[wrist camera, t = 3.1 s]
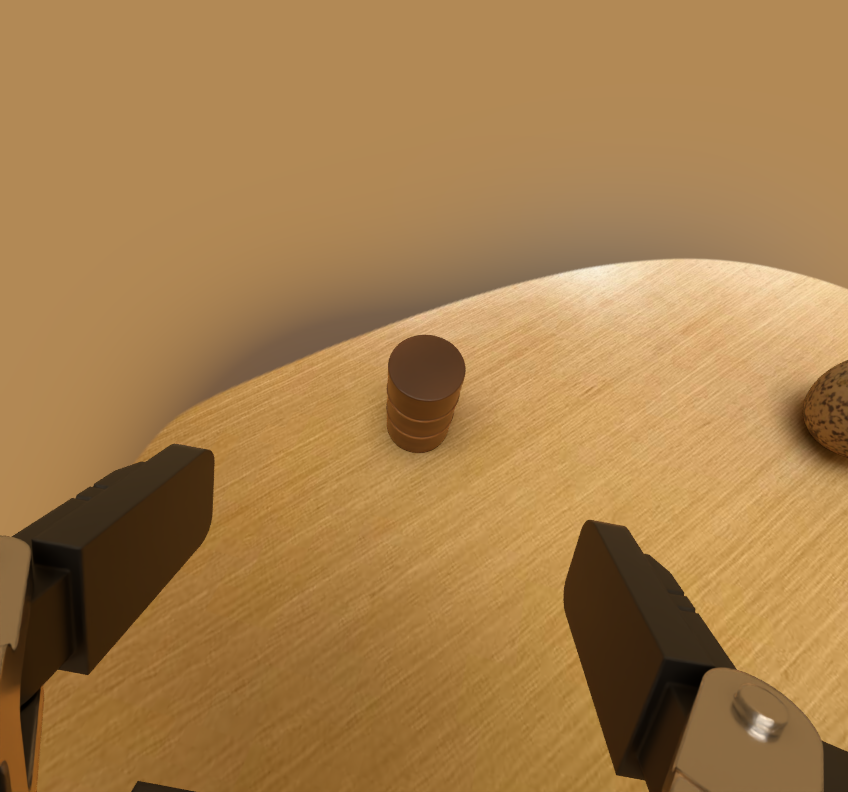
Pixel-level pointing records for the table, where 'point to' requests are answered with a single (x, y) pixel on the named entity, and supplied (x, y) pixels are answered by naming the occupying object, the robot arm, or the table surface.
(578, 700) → the table surface
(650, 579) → the robot arm
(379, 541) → the table surface
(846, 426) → the decorative egg
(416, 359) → the brown ridged cylinder
